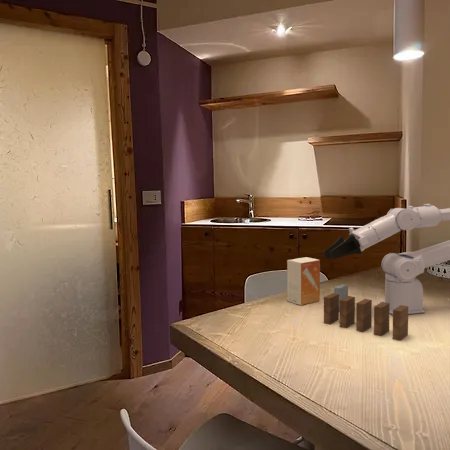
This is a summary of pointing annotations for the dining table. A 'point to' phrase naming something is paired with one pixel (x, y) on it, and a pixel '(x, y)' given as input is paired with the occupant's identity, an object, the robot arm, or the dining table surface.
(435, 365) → the dining table surface
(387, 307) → the domino
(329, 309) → the domino
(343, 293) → the gray rectangular block
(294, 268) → the small box
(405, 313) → the domino
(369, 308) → the domino
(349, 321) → the domino
